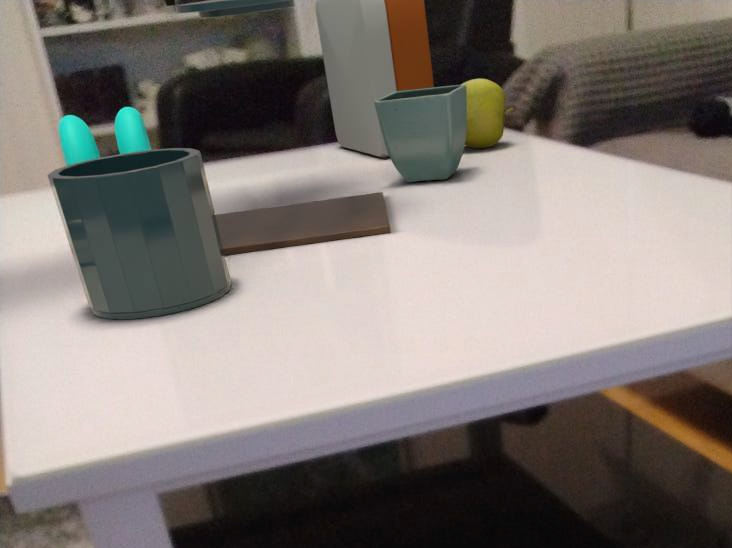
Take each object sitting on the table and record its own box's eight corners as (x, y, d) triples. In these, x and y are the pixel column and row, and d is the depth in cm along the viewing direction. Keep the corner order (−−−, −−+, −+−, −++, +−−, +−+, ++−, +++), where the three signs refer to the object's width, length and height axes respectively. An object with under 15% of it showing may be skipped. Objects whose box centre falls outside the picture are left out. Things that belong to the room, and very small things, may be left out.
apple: (517, 148, 130) (511, 77, 126) (446, 156, 131) (438, 86, 126) (515, 139, 137) (510, 71, 132) (448, 147, 137) (440, 80, 133)
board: (181, 261, 97) (179, 254, 96) (202, 222, 112) (200, 216, 111) (390, 232, 97) (389, 225, 97) (383, 197, 112) (382, 191, 112)
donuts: (84, 197, 134) (59, 113, 129) (161, 185, 136) (139, 101, 130) (79, 210, 126) (51, 121, 121) (160, 197, 128) (137, 109, 122)
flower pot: (405, 173, 124) (393, 90, 119) (475, 167, 122) (467, 83, 117) (385, 188, 117) (372, 101, 112) (459, 183, 115) (450, 93, 110)
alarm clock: (443, 148, 137) (422, -35, 125) (382, 160, 134) (355, -26, 122) (392, 137, 151) (369, -29, 139) (336, 147, 148) (308, -21, 137)
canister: (78, 327, 81) (32, 185, 75) (105, 289, 90) (66, 160, 85) (224, 306, 81) (189, 164, 75) (236, 271, 91) (206, 142, 85)
